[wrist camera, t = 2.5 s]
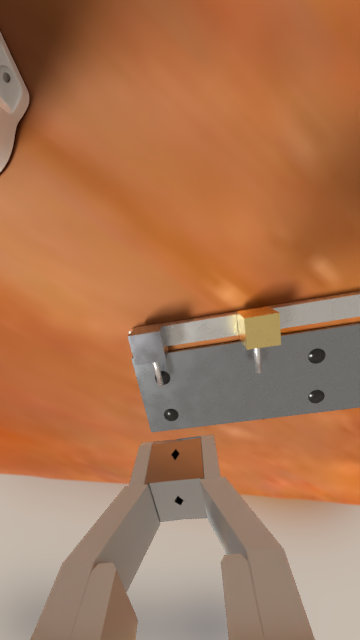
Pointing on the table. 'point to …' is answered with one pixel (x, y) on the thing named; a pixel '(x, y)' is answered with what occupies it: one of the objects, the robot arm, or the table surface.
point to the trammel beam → (232, 326)
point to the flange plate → (254, 380)
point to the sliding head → (259, 330)
